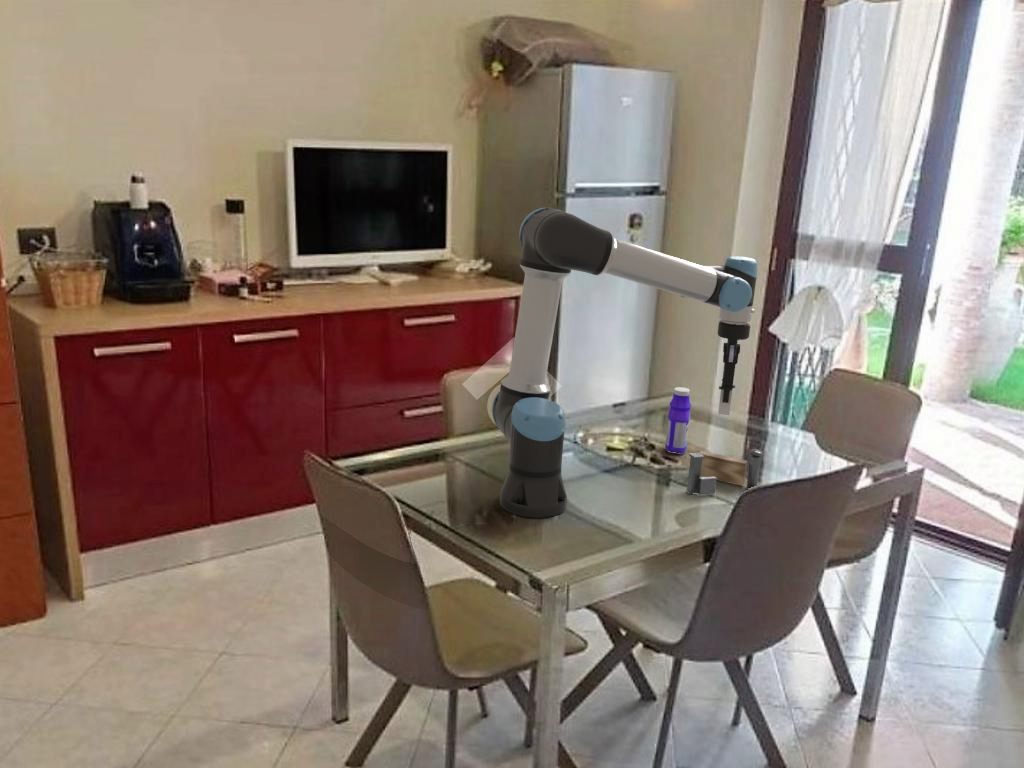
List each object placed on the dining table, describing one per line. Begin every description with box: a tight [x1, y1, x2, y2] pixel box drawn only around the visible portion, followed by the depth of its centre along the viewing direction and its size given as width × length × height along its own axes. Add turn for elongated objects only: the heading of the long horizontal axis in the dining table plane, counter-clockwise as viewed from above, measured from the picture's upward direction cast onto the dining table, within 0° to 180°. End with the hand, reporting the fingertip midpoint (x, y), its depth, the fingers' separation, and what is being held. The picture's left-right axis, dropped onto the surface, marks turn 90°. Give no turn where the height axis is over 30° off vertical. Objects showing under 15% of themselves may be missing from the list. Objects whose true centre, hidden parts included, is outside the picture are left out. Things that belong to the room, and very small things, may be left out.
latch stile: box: [686, 452, 718, 496], centre depth 211 cm, size 6×4×10 cm
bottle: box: [664, 386, 692, 454], centre depth 237 cm, size 7×6×17 cm
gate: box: [694, 449, 749, 486], centre depth 220 cm, size 13×2×6 cm, turn 62°
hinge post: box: [746, 448, 764, 489], centre depth 216 cm, size 3×3×10 cm
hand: (723, 413), depth 223 cm, fingers closed
